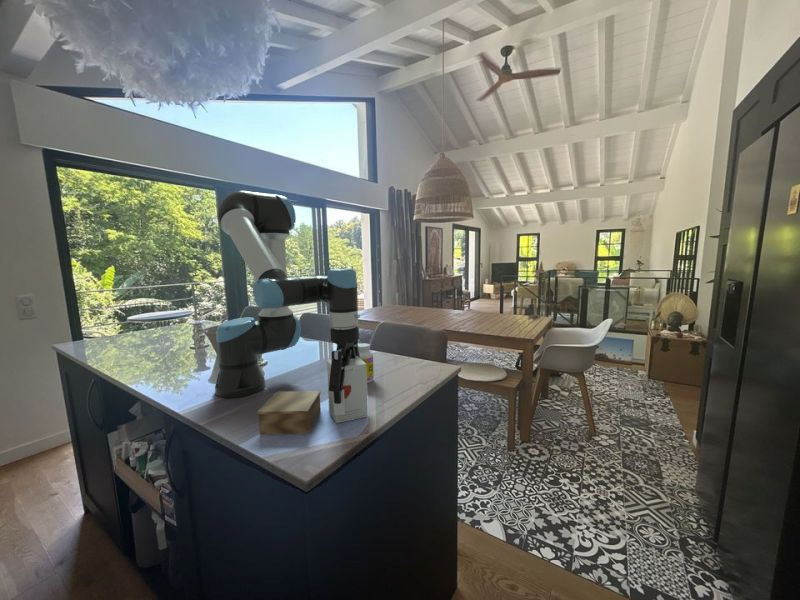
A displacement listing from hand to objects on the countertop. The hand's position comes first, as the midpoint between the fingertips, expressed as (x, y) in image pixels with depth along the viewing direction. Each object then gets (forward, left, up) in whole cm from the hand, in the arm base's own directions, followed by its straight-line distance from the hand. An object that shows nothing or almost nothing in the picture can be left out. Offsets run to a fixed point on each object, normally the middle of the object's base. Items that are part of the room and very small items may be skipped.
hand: (347, 403), depth 93 cm
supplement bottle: (-3, +25, -3) cm, 25 cm away
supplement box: (0, 0, -3) cm, 3 cm away
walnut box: (-13, -7, -3) cm, 15 cm away
